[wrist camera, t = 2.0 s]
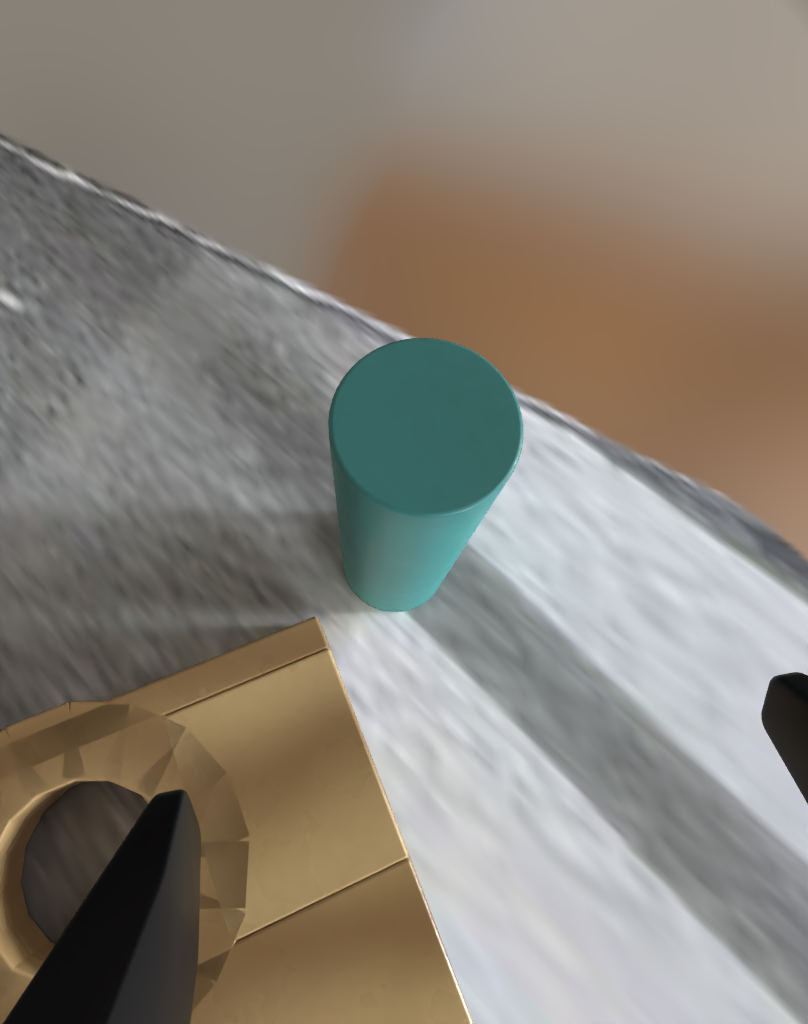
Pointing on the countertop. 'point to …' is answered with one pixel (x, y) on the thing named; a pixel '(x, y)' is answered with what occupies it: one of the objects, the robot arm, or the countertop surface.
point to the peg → (417, 463)
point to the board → (249, 838)
